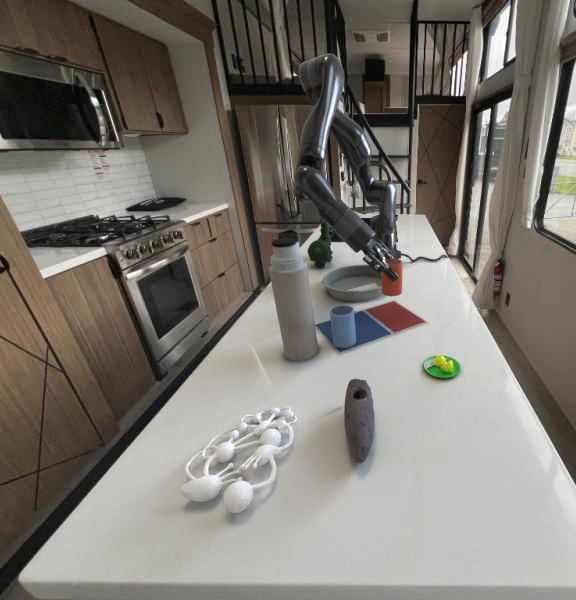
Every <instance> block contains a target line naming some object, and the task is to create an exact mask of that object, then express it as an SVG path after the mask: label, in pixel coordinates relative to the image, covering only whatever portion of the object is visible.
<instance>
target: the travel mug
mask: <svg viewBox="0 0 576 600" xmlns="http://www.w3.org/2000/svg"><path fill="white" fill-rule="evenodd" d="M298 235H299V234H298V231H296V230H294V229H287V230H285V231H281V232H279V233H278V235H277V236H278V239H281V238H293V239H296V246H297V251H298V252H300V253H301V250H300V249H301V248H300V243H299V242H300V241H299V239H298V238H299V237H298Z"/></svg>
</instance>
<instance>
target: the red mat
mask: <svg viewBox="0 0 576 600" xmlns="http://www.w3.org/2000/svg"><path fill="white" fill-rule="evenodd" d="M365 311H366V312H367V313H368V314H370V315H371V316H372V317H374V318H375V319H376V320H377V321H379V322H380V323H381V324H383V325H384V327H386V328H388V329H389V330H390V331H392V332H393V333H398V332H401V331H403V330H406V329H409V328H412V327H415V326H417V325H420V324H423V323H426V320H424V319H423V318H421V317H420V316H418V315H416V314H415V313H413V312H412V311H410V310H409V309H407V308H406V307H404V306H403V305H401V304H400V303H398V302H397V301H395V300H393V301H390V302H389V301H388V302H386V303H382V304H379V305H376V306H373V307H370V308H365Z"/></svg>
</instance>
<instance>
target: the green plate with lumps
mask: <svg viewBox="0 0 576 600" xmlns="http://www.w3.org/2000/svg"><path fill="white" fill-rule="evenodd" d="M432 360H433V365H431V366H429V367H427V364H428V362H429V361H432ZM423 368H424V370H425V371H426V372H427V373H428V374H430V375H431V376H433V377H436V378H443V379H445V378H452V377H455V376H456V375H457V374H459V372H460V370H461V365H460V363H459V362H458V361H457V360H456V359H454V358H453V357H451V356H447V355H442V354H438V355H433V356H429V357H427V358H426V359H425V360H424V362H423Z"/></svg>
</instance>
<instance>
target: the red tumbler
mask: <svg viewBox="0 0 576 600" xmlns="http://www.w3.org/2000/svg"><path fill="white" fill-rule="evenodd" d="M385 262H386V263H387V264H388V266H389V267H390V268H391V269H392V270H393V271H394V272H395V273H396V274H397V275H398V276H399V277H398V279H397V280H395V281H394V282H392V281H391V280H390V279H389V278H388V277H387V276H386V275H385V274H384V273H381V287H382V294H383V295H382V296H385V297H397V296H400V295H402V294H403V260H402V259H394V258H390V259H385Z"/></svg>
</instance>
